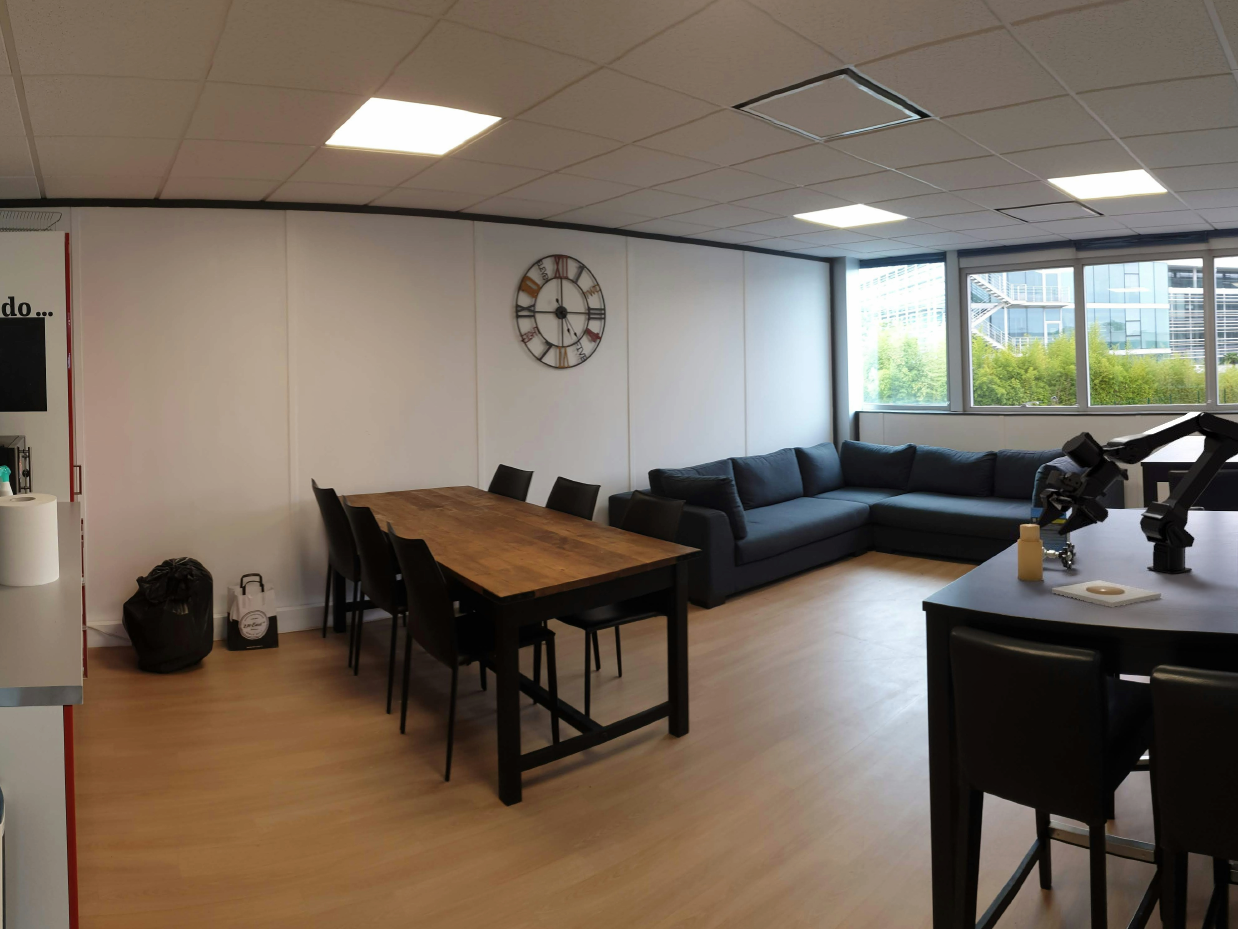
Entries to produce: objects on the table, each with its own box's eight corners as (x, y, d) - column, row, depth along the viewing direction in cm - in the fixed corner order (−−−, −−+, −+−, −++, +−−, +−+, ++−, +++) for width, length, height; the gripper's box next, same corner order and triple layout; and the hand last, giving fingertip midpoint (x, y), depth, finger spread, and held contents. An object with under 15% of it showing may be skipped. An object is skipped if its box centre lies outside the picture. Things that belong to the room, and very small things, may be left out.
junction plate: (1098, 584, 178) (1098, 579, 178) (1160, 598, 165) (1160, 592, 165) (1052, 593, 173) (1051, 587, 173) (1111, 607, 160) (1111, 601, 160)
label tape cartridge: (1071, 553, 212) (1070, 506, 211) (1067, 555, 209) (1067, 508, 208) (1034, 550, 218) (1033, 505, 217) (1030, 552, 215) (1029, 507, 214)
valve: (1014, 565, 201) (1065, 572, 192) (1014, 539, 200) (1065, 544, 191) (1025, 561, 205) (1076, 567, 196) (1025, 536, 205) (1076, 540, 196)
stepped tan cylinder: (1029, 575, 190) (1028, 523, 189) (1048, 579, 185) (1047, 525, 184) (1012, 577, 188) (1012, 525, 187) (1031, 582, 184) (1030, 528, 183)
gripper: (1048, 455, 194) (1003, 502, 195) (1095, 461, 176) (1045, 513, 176) (1080, 486, 195) (1035, 533, 196) (1130, 495, 176) (1080, 547, 177)
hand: (1047, 531), depth 186 cm, fingers open, 9 cm apart
